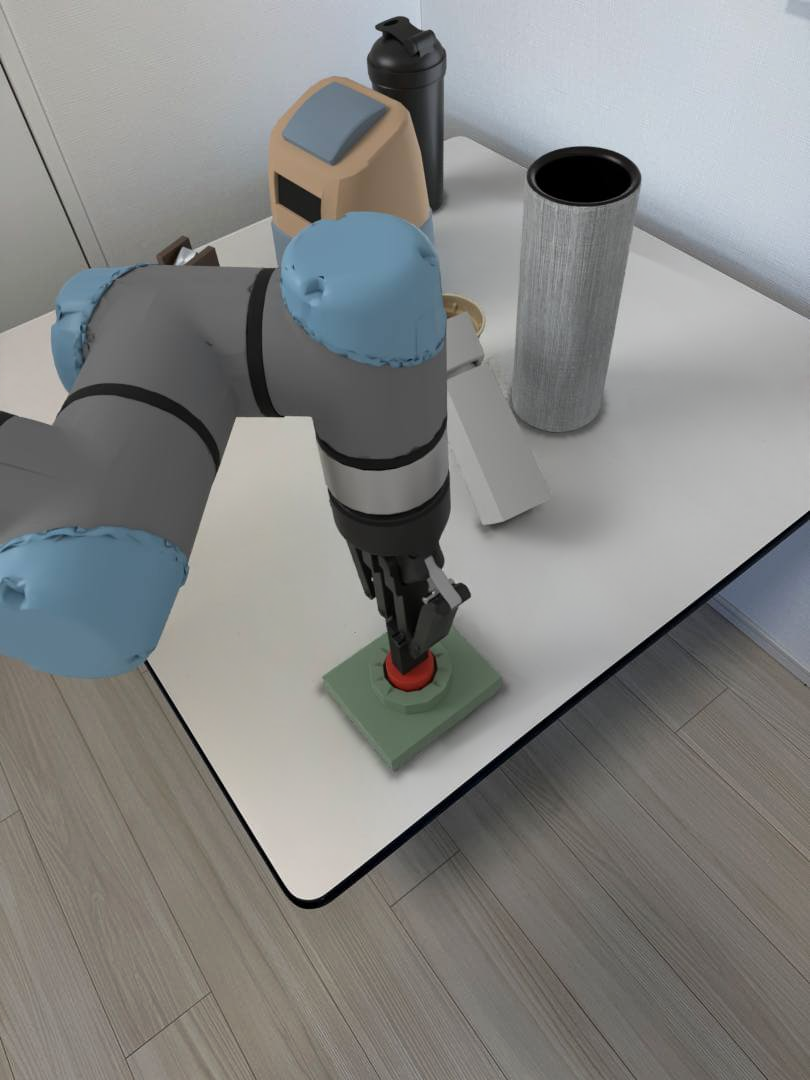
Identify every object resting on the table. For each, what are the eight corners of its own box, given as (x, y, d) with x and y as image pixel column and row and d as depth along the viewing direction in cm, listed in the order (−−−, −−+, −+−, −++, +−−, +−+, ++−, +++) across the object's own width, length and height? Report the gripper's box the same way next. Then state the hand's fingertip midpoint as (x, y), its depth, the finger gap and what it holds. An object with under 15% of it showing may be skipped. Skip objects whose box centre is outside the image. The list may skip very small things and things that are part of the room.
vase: (615, 390, 93) (661, 160, 71) (576, 446, 88) (612, 217, 67) (537, 361, 97) (558, 134, 75) (495, 413, 92) (504, 187, 70)
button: (406, 701, 68) (405, 692, 67) (378, 668, 70) (376, 658, 69) (443, 674, 69) (443, 664, 68) (414, 642, 71) (413, 632, 70)
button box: (393, 772, 68) (389, 753, 64) (325, 688, 73) (318, 666, 70) (501, 688, 72) (503, 667, 68) (429, 614, 77) (428, 590, 73)
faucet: (502, 522, 77) (414, 324, 75) (448, 530, 92) (374, 367, 91) (557, 495, 78) (472, 301, 77) (494, 508, 94) (423, 347, 92)
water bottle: (417, 174, 124) (409, 3, 105) (463, 199, 119) (463, 25, 100) (365, 200, 120) (347, 28, 102) (410, 228, 115) (399, 53, 97)
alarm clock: (271, 285, 109) (231, 107, 91) (366, 232, 115) (347, 55, 97) (351, 341, 101) (326, 159, 83) (448, 281, 107) (445, 99, 89)
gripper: (506, 503, 47) (496, 688, 66) (373, 388, 54) (398, 586, 73) (404, 573, 45) (424, 745, 64) (277, 443, 51) (329, 633, 70)
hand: (410, 660), depth 68 cm, fingers closed
